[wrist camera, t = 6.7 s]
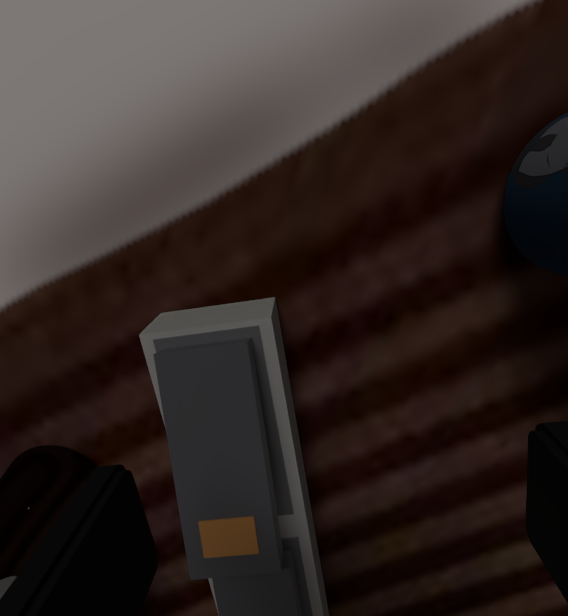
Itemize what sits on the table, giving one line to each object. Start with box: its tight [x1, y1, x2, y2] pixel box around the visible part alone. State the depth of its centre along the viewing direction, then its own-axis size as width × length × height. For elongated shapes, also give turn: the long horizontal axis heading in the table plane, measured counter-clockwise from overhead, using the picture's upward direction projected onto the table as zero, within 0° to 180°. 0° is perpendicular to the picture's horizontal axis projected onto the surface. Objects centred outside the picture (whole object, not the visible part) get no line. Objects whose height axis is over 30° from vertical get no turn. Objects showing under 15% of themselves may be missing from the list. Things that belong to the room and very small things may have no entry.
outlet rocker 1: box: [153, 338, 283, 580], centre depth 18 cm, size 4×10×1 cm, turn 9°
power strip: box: [139, 297, 329, 616], centre depth 23 cm, size 23×6×3 cm, turn 9°
